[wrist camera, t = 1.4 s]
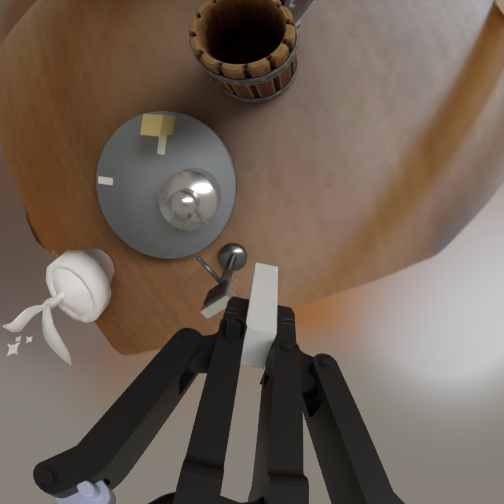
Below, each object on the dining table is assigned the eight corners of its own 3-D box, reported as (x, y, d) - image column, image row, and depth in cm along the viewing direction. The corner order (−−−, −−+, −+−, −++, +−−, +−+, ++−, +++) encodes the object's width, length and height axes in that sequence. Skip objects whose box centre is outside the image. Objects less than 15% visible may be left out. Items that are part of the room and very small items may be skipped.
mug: (261, 119, 32) (249, 112, 18) (197, 74, 29) (148, 46, 16) (337, 40, 25) (372, -6, 12) (273, -4, 23) (269, -65, 10)
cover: (171, 163, 31) (154, 170, 27) (226, 172, 31) (217, 181, 27) (165, 216, 34) (149, 230, 30) (216, 226, 34) (207, 242, 30)
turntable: (109, 108, 30) (84, 109, 25) (250, 122, 30) (245, 120, 25) (103, 237, 39) (82, 254, 33) (223, 265, 39) (214, 289, 34)
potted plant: (69, 259, 44) (-16, 339, 21) (93, 220, 40) (-16, 304, 17) (113, 305, 47) (45, 402, 25) (143, 273, 43) (61, 387, 21)
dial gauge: (252, 258, 40) (242, 311, 29) (232, 272, 41) (215, 326, 30) (222, 223, 38) (199, 266, 27) (202, 239, 39) (173, 285, 28)
